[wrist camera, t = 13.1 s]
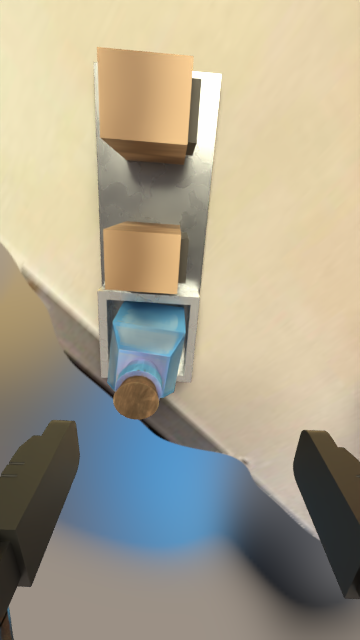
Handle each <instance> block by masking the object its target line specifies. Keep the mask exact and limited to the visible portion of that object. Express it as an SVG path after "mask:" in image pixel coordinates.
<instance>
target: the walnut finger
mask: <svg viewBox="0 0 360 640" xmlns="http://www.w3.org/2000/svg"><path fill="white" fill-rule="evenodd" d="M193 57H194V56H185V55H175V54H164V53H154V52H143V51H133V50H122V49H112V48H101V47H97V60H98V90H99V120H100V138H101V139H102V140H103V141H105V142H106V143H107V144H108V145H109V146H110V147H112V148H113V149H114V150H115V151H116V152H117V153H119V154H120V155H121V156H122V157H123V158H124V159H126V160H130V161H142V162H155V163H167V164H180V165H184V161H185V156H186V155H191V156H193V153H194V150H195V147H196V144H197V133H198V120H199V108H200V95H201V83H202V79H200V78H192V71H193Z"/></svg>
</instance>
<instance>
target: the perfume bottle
mask: <svg viewBox="0 0 360 640" xmlns="http://www.w3.org/2000/svg"><path fill="white" fill-rule="evenodd" d="M185 334H186V330H185V315H184V308H183V307H176V306H170V305H164V304H157V303H151V302H136V301H124V302H123V304H122V305H121V307H120V309H119V311H118V313H117V315H116V316H115V318H114V320H113V323H112V335H111V346H110V357H109V369H108V380H107V383H108V384H109V385H110V387H111V388H112V389H113V390H114V391H115V394H114V398H113V401H114V406H115V408H116V409H117V411H118V412H119V413H120V414H121V415H123V416H125V417H127V418H130V419H144V418H147V417H149V416H151V415H153V414H154V412H155V411H156V410H157V408H158V405H159V400H160V398H163V397H165V396H167V395H169V394H171V393H173V392H174V389H175V384H176V379H177V374H178V369H179V364H180V359H181V354H182V349H183V344H184V339H185Z"/></svg>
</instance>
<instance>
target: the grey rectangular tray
mask: <svg viewBox="0 0 360 640" xmlns="http://www.w3.org/2000/svg"><path fill="white" fill-rule="evenodd" d="M221 76H222V74H216V73H206V72H195V71H192V78H200V79H202V83H201V95H200V108H199V120H198V133H197V144H196V147H195V150H194V153H193V156H191V155H186V156H185V161H184V165H180V164H167V163H155V162H142V161H130V160H126V159H124V158H123V157H122V156H121V155H120V154H119V153H117V152H116V151H115V150H114V149H113V148H112V147H110V146H109V145H108V144H107V143H106V142H105V141H103V140H102V139H101V138H100V120H99V90H98V62H94V83H95V109H96V136H97V163H98V190H99V217H100V244H101V270H102V287H101V288H100V289H99V290H98V313H99V335H100V358H101V378H108V369H109V357H110V346H111V335H112V323H113V320H114V318H115V316H116V315H117V313H118V311H119V309H120V307H121V305H122V304H123V302H124V301H136V302H151V303H157V304H164V305H170V306H176V307H183V308H184V315H185V330H186V334H185V339H184V344H183V349H182V354H181V359H180V364H179V369H178V374H177V379H176V382H191V379H192V369H193V359H194V350H195V340H196V330H197V320H198V310H199V301H200V296H199V294H200V284H201V274H202V265H203V255H204V245H205V235H206V225H207V215H208V205H209V195H210V185H211V175H212V165H213V155H214V145H215V136H216V126H217V116H218V106H219V96H220V86H221ZM125 221H132V222H146V223H159V224H173V225H180V230H181V232H187V235H188V238H189V246H188V258H187V271H186V284H185V283H178V289H177V294H166V293H151V292H135V291H119V290H105V271H104V240H103V229H105V228H108V227H111V226H114V225H117V224H120V223H123V222H125Z"/></svg>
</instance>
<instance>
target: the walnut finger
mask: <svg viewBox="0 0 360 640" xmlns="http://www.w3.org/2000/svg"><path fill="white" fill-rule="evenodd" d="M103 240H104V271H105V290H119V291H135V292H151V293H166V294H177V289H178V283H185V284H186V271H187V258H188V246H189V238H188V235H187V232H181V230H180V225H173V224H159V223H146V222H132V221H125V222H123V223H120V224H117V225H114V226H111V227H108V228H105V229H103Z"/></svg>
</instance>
